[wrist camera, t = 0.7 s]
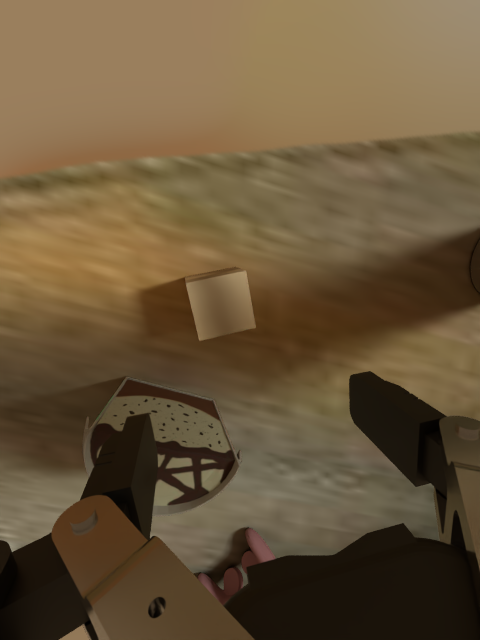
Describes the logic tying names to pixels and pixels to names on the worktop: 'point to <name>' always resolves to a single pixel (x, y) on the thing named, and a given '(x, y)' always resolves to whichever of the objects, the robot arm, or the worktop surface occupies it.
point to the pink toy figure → (233, 575)
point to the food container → (171, 442)
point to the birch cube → (220, 302)
